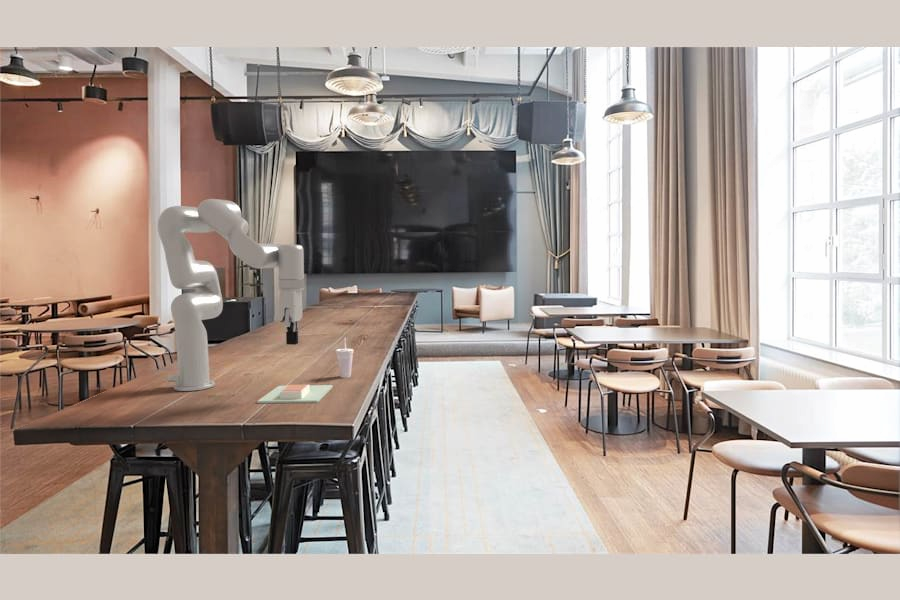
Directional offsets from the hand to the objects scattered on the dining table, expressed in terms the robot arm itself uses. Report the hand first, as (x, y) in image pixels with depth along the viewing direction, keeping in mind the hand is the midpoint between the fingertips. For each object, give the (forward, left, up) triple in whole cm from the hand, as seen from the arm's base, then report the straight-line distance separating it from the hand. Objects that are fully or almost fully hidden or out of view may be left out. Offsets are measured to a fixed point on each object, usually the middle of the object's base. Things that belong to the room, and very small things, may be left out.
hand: (292, 343), depth 180 cm
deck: (+1, +2, -14) cm, 15 cm away
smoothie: (+11, +27, -16) cm, 33 cm away
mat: (+1, +1, -16) cm, 16 cm away
